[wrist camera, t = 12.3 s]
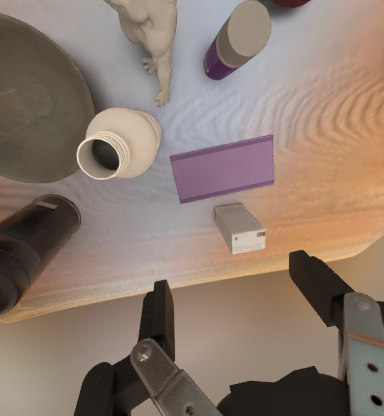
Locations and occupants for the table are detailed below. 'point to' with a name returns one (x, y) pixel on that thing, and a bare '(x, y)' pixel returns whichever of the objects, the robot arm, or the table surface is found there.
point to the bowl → (39, 106)
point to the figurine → (151, 35)
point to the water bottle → (119, 144)
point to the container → (238, 39)
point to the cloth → (224, 169)
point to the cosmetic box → (239, 229)
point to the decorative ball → (289, 3)
